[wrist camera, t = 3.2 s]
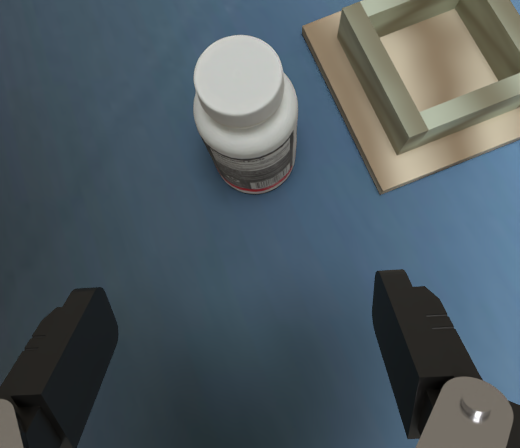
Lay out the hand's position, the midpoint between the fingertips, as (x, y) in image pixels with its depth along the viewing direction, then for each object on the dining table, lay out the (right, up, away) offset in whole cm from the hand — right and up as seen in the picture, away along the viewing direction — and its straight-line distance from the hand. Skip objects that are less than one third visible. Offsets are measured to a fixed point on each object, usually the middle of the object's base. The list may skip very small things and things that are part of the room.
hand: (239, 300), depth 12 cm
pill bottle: (0, +7, +15) cm, 17 cm away
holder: (+12, +12, +16) cm, 23 cm away
